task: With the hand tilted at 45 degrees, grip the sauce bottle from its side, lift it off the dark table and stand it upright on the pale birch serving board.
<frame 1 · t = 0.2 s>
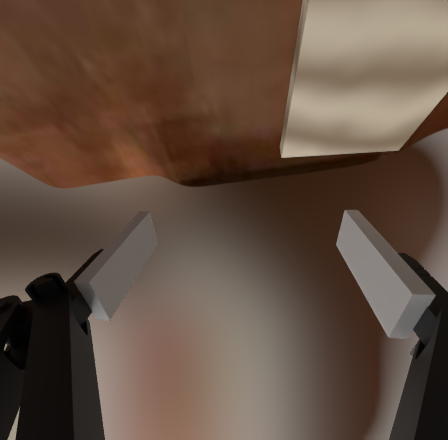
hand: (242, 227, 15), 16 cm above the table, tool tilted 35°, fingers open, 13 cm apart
birch board: (374, 56, 19), on the table
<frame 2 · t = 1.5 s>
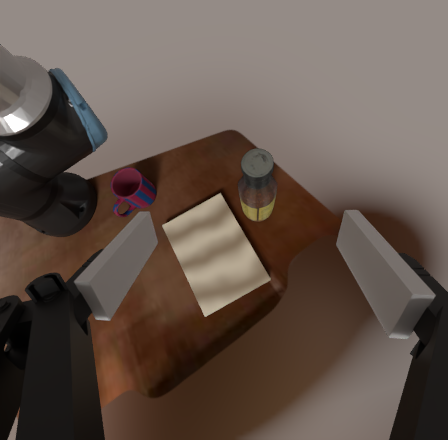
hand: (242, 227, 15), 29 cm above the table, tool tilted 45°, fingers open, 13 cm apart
mug: (139, 200, 49), on the table
birch board: (214, 251, 44), on the table
sauce bottle: (256, 208, 45), on the table
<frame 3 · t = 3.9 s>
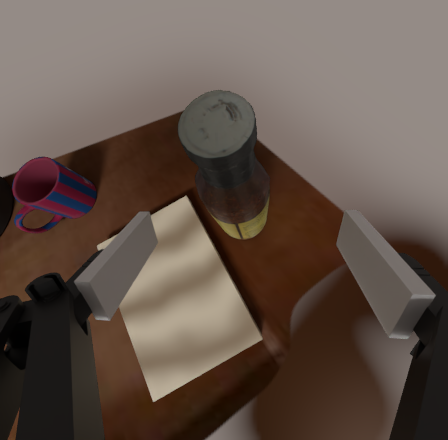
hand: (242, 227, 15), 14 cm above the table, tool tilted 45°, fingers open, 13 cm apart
mug: (72, 207, 34), on the table
birch board: (176, 286, 28), on the table
sauce bottle: (241, 219, 30), on the table
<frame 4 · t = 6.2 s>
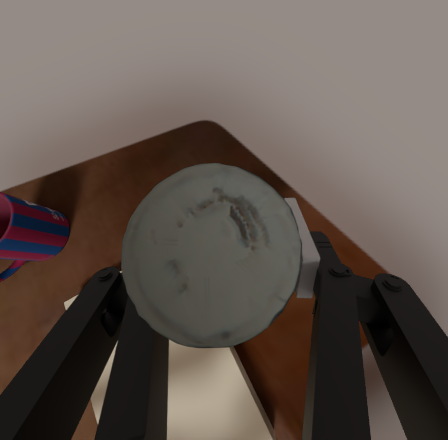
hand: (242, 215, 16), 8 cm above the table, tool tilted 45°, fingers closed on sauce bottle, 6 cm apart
mug: (40, 246, 28), on the table
birch board: (164, 357, 22), on the table
sauce bottle: (247, 269, 24), on the table, touching gripper
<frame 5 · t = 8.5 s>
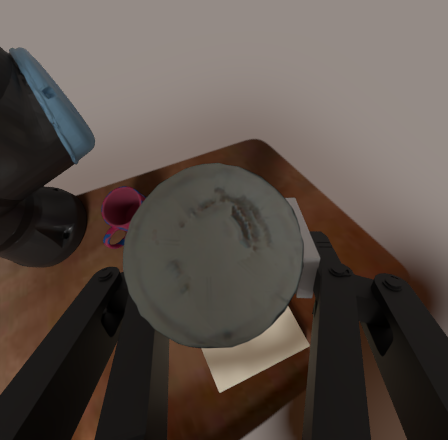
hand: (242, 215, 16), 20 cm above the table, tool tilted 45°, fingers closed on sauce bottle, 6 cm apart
mug: (138, 225, 39), on the table
birch board: (232, 298, 34), on the table
sauce bottle: (247, 269, 24), point 11 cm above the table, touching gripper
when the fingers open (12 cm above the table, at t = 11.1 s): sauce bottle drops 1 cm, resting on birch board.
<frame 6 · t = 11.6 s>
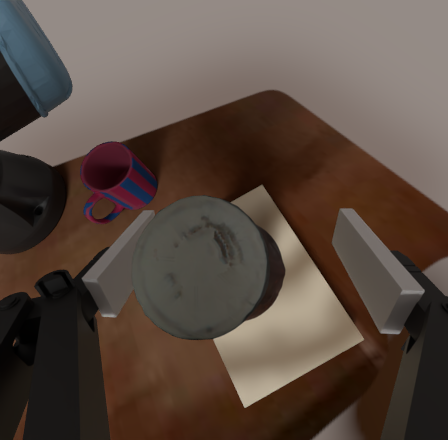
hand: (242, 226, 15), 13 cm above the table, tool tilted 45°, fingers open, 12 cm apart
mug: (130, 198, 32), on the table
birch board: (254, 282, 26), on the table
sauce bottle: (246, 270, 25), point 2 cm above the table, touching birch board
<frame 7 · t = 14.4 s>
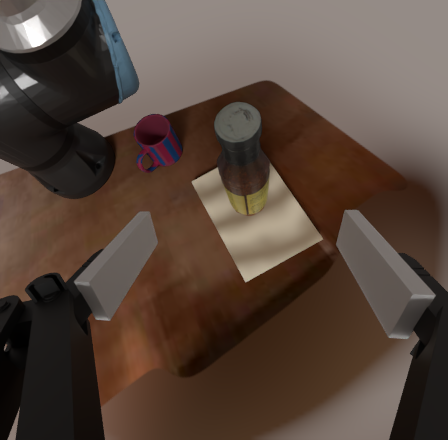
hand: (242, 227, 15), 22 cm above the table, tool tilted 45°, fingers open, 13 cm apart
mug: (162, 158, 44), on the table
birch board: (252, 211, 38), on the table
sauce bottle: (247, 200, 37), point 2 cm above the table, touching birch board
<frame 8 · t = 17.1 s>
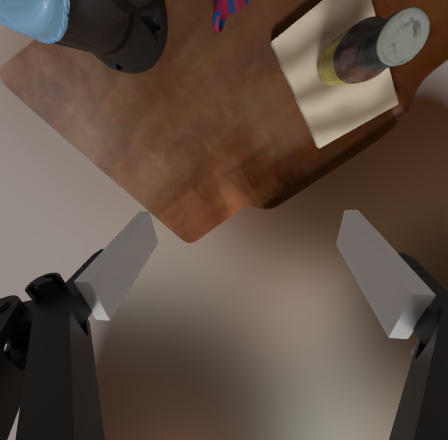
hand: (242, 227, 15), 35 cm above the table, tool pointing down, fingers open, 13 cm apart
birch board: (333, 74, 38), on the table
sauce bottle: (332, 63, 35), point 2 cm above the table, touching birch board
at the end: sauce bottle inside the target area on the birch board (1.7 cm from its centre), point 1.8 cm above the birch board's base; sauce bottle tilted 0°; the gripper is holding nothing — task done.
